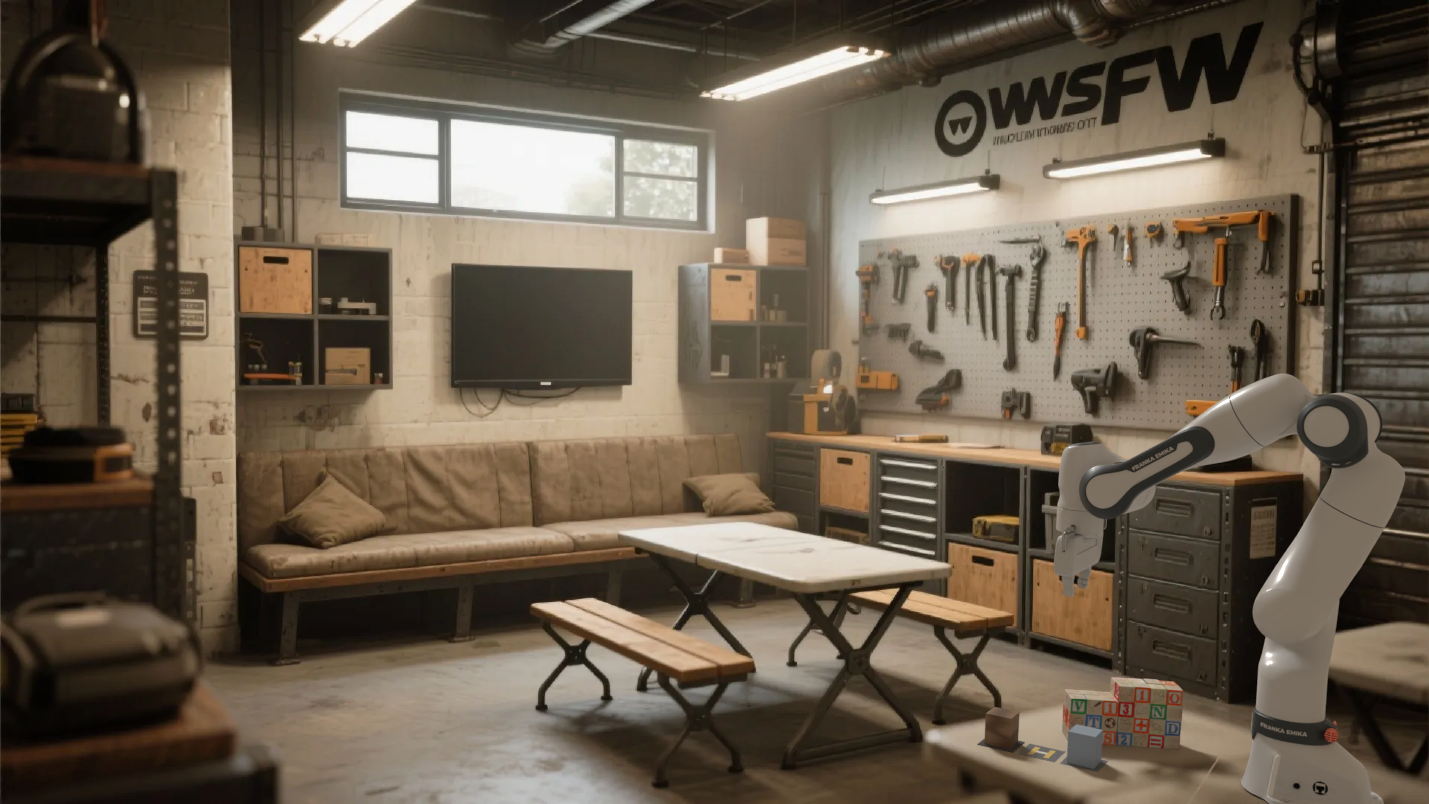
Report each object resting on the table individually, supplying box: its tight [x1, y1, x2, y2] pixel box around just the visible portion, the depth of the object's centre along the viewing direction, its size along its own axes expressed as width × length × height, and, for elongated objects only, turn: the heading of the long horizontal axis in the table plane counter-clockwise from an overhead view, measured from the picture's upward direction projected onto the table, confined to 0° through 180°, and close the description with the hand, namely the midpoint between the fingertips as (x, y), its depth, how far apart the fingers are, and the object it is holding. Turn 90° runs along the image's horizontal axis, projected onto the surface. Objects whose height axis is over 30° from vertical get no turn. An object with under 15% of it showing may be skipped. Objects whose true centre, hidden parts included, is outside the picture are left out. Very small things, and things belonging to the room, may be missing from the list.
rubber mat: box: [976, 738, 1025, 754], centre depth 229 cm, size 7×7×1 cm
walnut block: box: [984, 706, 1020, 749], centre depth 228 cm, size 5×5×6 cm
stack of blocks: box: [1061, 677, 1184, 750], centre depth 232 cm, size 21×6×12 cm, turn 85°
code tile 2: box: [1059, 756, 1108, 773], centre depth 220 cm, size 7×7×1 cm
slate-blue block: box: [1066, 724, 1103, 769], centre depth 220 cm, size 5×5×6 cm
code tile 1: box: [1017, 743, 1066, 763], centre depth 224 cm, size 7×7×1 cm
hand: (1075, 591), depth 234 cm, fingers open, 8 cm apart
